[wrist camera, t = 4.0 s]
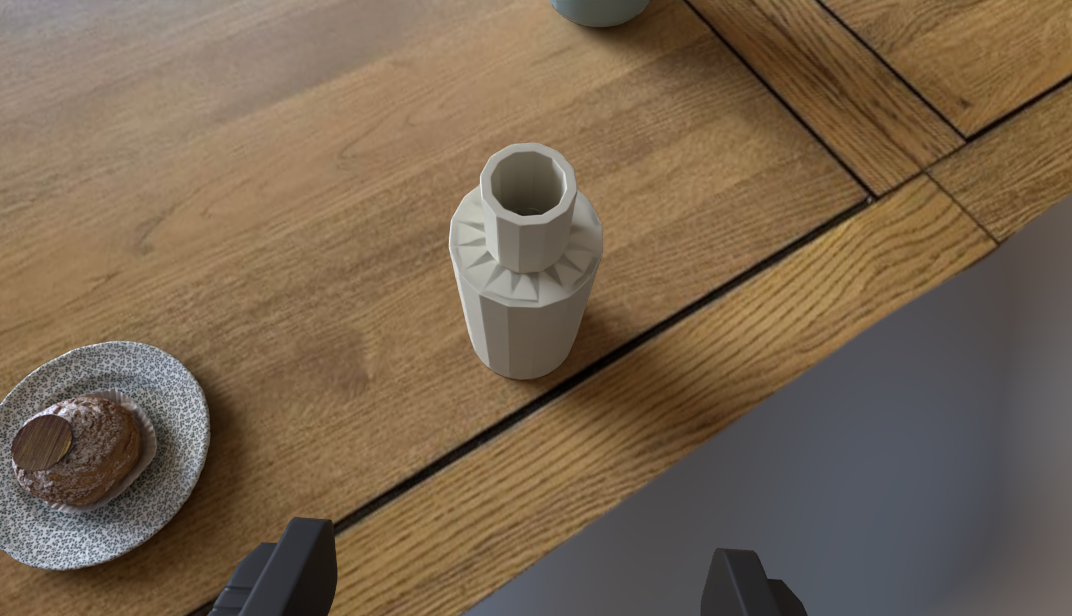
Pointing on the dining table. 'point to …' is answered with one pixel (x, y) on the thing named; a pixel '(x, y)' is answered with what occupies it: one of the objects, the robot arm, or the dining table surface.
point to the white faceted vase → (525, 260)
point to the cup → (599, 11)
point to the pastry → (98, 454)
